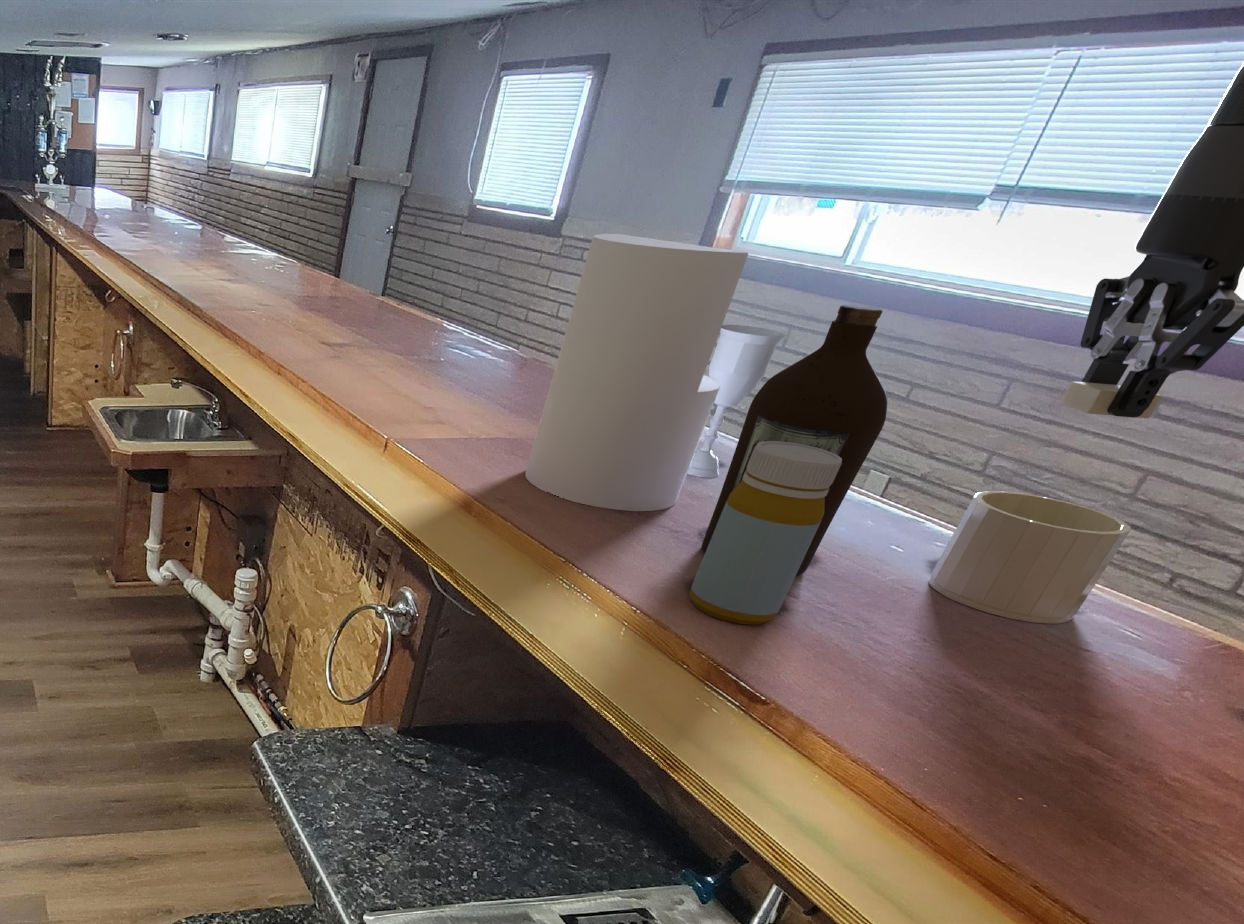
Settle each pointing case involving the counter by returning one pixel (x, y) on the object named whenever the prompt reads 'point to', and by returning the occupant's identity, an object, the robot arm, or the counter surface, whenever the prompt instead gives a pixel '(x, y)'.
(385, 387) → the counter surface
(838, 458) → the bottle
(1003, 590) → the cream round pot
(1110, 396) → the cream block
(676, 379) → the cylinder
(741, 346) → the chalice
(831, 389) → the olive oil
